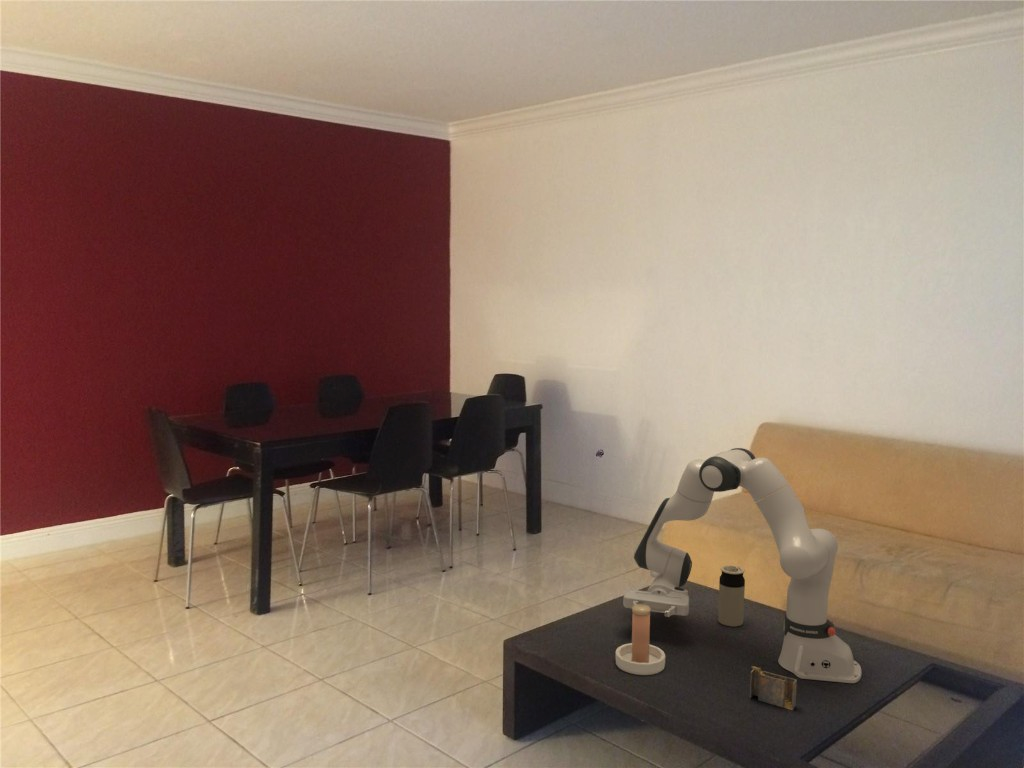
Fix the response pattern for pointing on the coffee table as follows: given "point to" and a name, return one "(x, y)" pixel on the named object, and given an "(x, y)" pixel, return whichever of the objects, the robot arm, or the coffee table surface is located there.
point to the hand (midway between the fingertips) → (651, 612)
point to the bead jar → (640, 633)
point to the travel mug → (731, 596)
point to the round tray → (650, 668)
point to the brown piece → (773, 688)
